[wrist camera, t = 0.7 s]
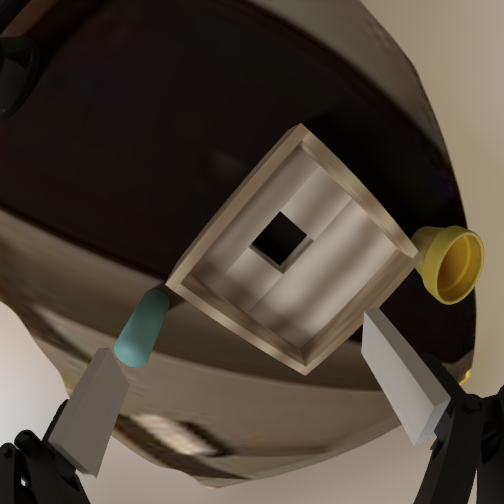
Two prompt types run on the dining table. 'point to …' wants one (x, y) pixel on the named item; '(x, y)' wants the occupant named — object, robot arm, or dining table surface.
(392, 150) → the dining table surface
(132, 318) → the peg
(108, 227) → the dining table surface
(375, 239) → the box
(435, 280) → the plant pot
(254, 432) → the dining table surface
